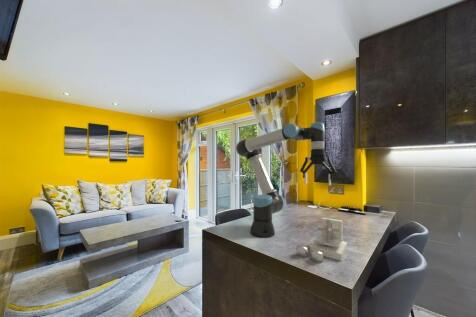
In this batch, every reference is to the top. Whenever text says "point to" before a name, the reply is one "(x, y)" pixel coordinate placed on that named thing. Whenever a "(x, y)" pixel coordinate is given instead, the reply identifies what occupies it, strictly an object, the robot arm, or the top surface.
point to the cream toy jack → (328, 229)
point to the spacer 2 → (317, 256)
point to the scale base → (330, 250)
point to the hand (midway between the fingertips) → (317, 184)
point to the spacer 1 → (302, 251)
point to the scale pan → (332, 242)
